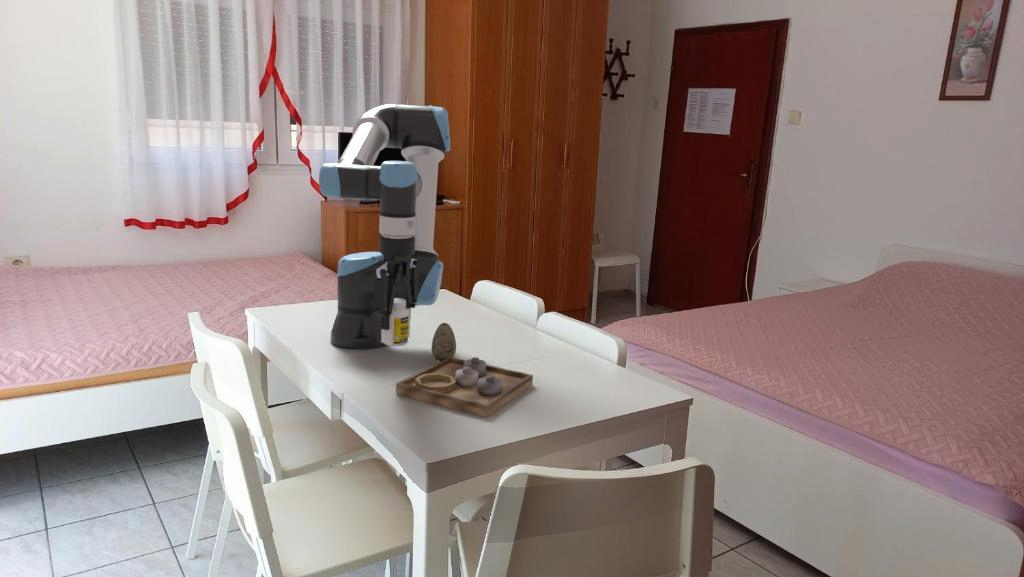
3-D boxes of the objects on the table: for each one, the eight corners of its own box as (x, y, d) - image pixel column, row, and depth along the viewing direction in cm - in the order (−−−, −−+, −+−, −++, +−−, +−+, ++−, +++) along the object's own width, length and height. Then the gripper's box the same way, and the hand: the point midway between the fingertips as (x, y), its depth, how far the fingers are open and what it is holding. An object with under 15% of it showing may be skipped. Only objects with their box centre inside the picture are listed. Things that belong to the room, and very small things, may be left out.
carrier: (396, 394, 150) (396, 372, 149) (449, 366, 169) (450, 346, 168) (486, 417, 141) (487, 393, 140) (532, 385, 160) (533, 364, 159)
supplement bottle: (403, 348, 152) (403, 304, 149) (379, 345, 153) (379, 302, 150) (411, 340, 157) (412, 298, 154) (388, 337, 158) (389, 295, 155)
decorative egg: (460, 362, 173) (462, 323, 171) (444, 367, 168) (446, 327, 166) (441, 356, 176) (443, 318, 174) (426, 362, 172) (427, 322, 169)
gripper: (385, 243, 139) (384, 354, 145) (435, 232, 155) (432, 331, 161) (355, 238, 142) (355, 347, 148) (407, 227, 158) (405, 326, 164)
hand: (395, 339), depth 154 cm, fingers closed on supplement bottle, 5 cm apart
